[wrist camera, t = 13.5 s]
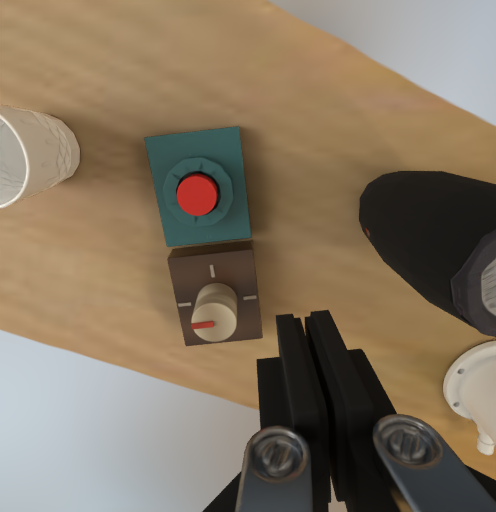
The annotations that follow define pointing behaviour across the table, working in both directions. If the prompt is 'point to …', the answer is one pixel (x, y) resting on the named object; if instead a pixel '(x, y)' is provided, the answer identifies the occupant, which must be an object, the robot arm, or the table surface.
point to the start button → (197, 194)
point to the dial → (215, 312)
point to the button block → (207, 163)
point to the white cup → (33, 153)
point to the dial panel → (217, 271)
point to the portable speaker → (438, 239)
